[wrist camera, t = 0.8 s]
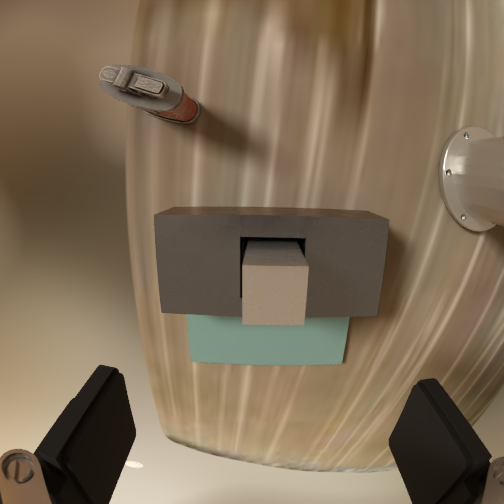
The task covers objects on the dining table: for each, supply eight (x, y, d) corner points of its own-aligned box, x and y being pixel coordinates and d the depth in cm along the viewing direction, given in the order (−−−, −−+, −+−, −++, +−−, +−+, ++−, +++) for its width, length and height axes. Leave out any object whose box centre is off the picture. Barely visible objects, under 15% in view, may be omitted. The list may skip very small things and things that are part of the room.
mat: (349, 300, 32) (351, 303, 32) (340, 360, 34) (341, 363, 34) (187, 298, 33) (185, 300, 32) (192, 357, 35) (191, 361, 34)
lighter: (127, 107, 28) (78, 87, 18) (141, 79, 27) (96, 50, 18) (192, 131, 29) (160, 112, 19) (206, 101, 28) (181, 71, 18)
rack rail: (367, 211, 30) (389, 219, 24) (359, 292, 32) (376, 316, 26) (173, 207, 31) (153, 214, 25) (177, 289, 33) (161, 312, 27)
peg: (291, 231, 31) (308, 266, 19) (290, 270, 32) (304, 325, 20) (250, 230, 31) (242, 265, 19) (249, 270, 32) (242, 324, 20)
